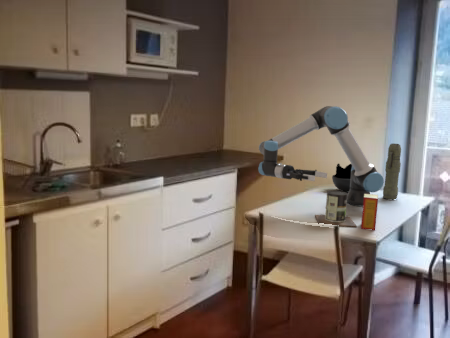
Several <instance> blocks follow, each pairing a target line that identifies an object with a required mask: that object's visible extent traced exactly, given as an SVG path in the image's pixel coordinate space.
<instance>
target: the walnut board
mask: <svg viewBox="0 0 450 338" xmlns="http://www.w3.org/2000/svg"><path fill="white" fill-rule="evenodd" d="M314 216H315V219H316V221H317V223H318V224H319V223H324V224H332V225H339V226H338V227H342V228H343V227H345V228H357V227H358V226H357V224H356V223H355V222H354V220H353V219H352V218H351V216H346V217H345V222H330V221H327V220H325V214H314Z"/></svg>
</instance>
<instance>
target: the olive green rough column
mask: <svg viewBox="0 0 450 338" xmlns="http://www.w3.org/2000/svg"><path fill="white" fill-rule="evenodd" d="M387 149H388V150H387V160H386V162H385V168H384V169H385V178H384V185H383V188H382V189H383V191H382V198H383V199H384V198H386V199H385V200H388V199H396V198H397V199H398V196H399V195H398V194H399V187H398V185H399V176H400V172H401V166H402V165H401V156H402V155H401V153H402V147H401V144H399V143H390V144H389V146H388V148H387Z"/></svg>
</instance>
